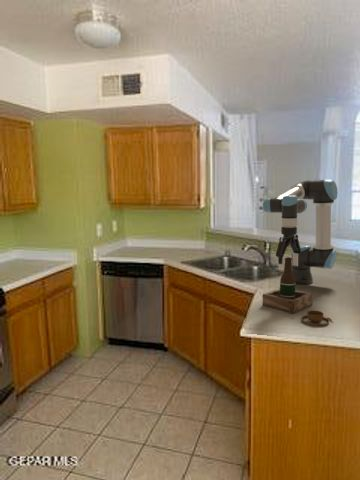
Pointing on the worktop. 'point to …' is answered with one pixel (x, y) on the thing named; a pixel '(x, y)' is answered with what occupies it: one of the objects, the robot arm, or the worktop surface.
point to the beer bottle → (287, 281)
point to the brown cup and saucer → (312, 317)
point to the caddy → (281, 303)
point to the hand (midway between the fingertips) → (288, 267)
